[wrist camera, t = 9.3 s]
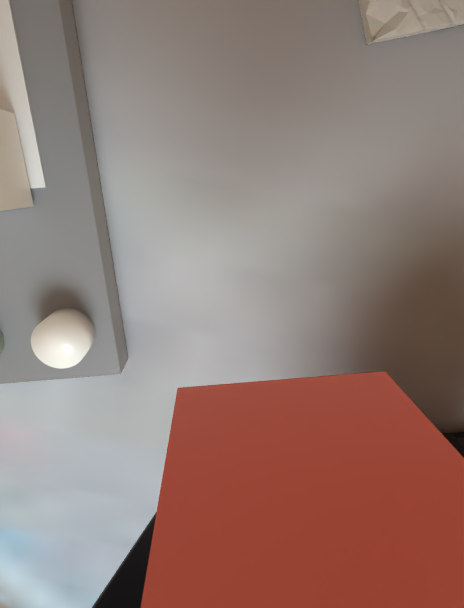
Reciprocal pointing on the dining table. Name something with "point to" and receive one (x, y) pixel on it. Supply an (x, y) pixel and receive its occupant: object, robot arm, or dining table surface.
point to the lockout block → (307, 499)
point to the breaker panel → (54, 210)
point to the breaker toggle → (12, 166)
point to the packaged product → (408, 17)
